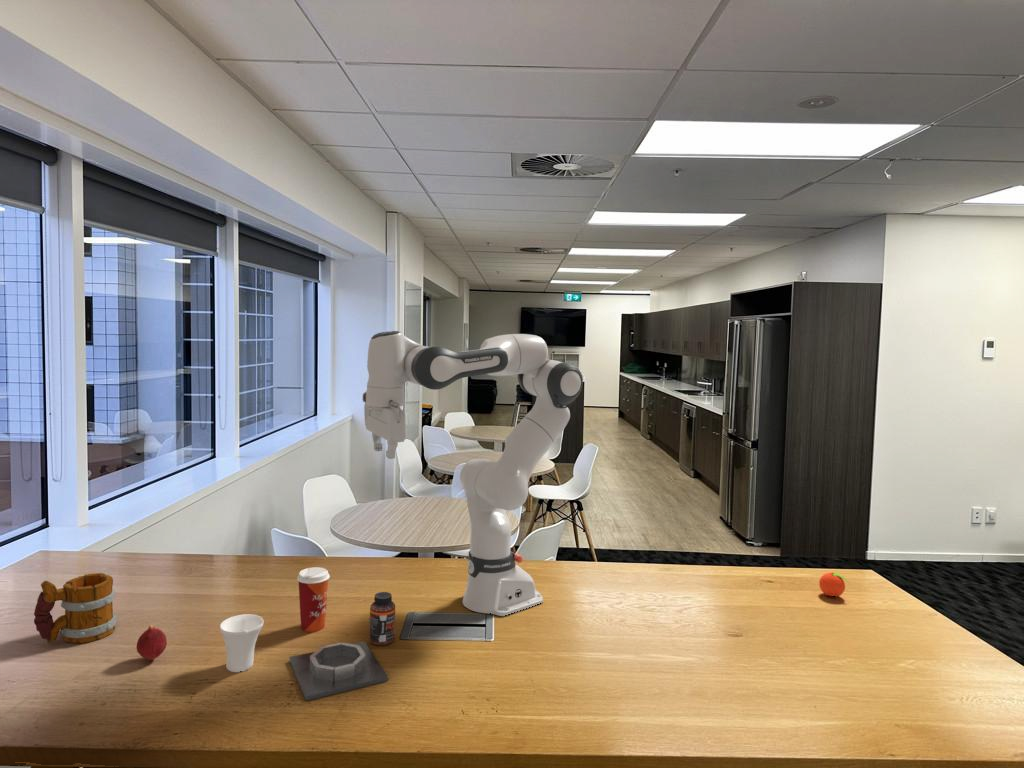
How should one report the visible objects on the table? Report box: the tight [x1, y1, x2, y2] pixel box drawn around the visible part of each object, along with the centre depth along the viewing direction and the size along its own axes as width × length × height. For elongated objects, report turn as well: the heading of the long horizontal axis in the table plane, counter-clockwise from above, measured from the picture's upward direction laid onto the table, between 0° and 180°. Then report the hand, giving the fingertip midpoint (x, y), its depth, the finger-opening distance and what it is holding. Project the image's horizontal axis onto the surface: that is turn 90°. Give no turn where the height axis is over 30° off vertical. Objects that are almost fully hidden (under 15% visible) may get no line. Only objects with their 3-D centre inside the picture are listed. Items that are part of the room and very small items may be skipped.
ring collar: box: [288, 641, 389, 702], centre depth 141 cm, size 17×17×4 cm
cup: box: [219, 613, 265, 673], centre depth 142 cm, size 9×9×10 cm
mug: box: [33, 572, 118, 644], centre depth 151 cm, size 11×16×15 cm, turn 137°
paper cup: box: [296, 566, 331, 633], centre depth 161 cm, size 8×8×14 cm
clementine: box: [818, 572, 850, 598], centre depth 192 cm, size 8×7×7 cm
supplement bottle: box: [368, 591, 396, 646], centre depth 155 cm, size 6×6×11 cm
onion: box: [135, 624, 168, 661], centre depth 143 cm, size 6×6×8 cm
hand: (384, 454), depth 159 cm, fingers open, 8 cm apart
